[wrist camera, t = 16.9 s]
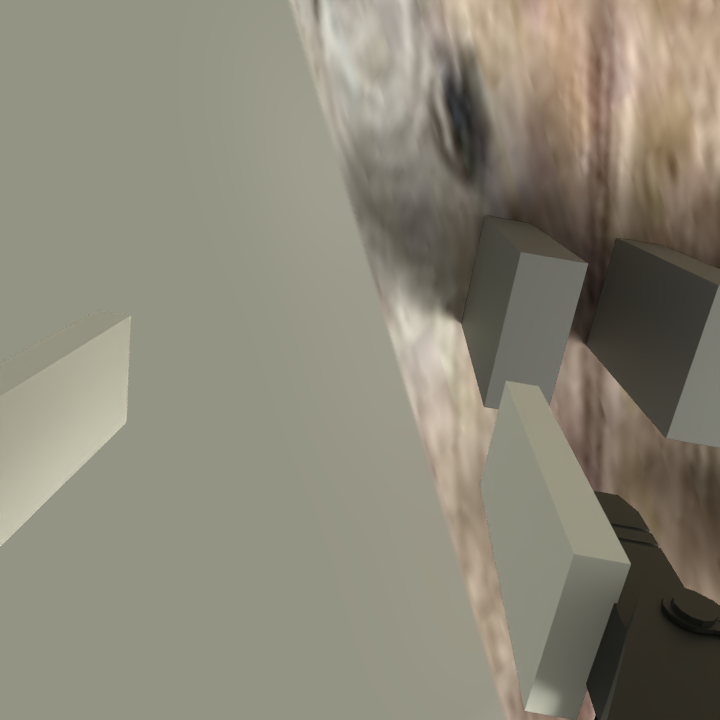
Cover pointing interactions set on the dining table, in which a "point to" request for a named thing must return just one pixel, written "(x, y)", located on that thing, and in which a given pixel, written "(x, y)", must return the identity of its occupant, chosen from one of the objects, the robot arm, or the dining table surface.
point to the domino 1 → (519, 307)
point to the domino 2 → (663, 337)
